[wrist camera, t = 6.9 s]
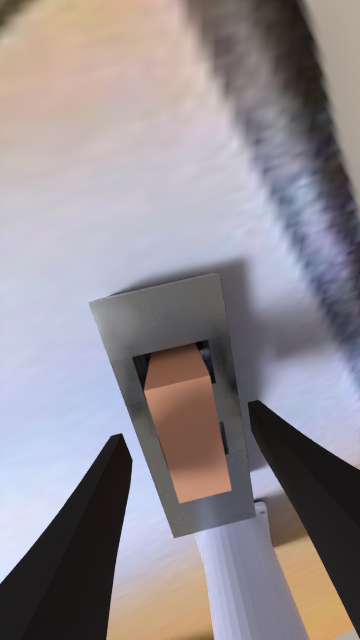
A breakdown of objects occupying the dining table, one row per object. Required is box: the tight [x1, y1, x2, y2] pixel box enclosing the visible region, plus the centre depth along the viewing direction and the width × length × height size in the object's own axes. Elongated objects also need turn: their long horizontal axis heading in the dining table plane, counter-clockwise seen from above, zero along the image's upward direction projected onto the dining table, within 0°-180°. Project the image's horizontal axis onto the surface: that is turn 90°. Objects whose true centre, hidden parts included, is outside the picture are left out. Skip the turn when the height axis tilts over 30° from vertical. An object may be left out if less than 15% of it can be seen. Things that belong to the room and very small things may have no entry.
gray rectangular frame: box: [89, 273, 256, 538], centre depth 13 cm, size 20×7×3 cm, turn 12°
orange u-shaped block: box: [144, 342, 232, 504], centre depth 11 cm, size 8×3×6 cm, turn 12°
